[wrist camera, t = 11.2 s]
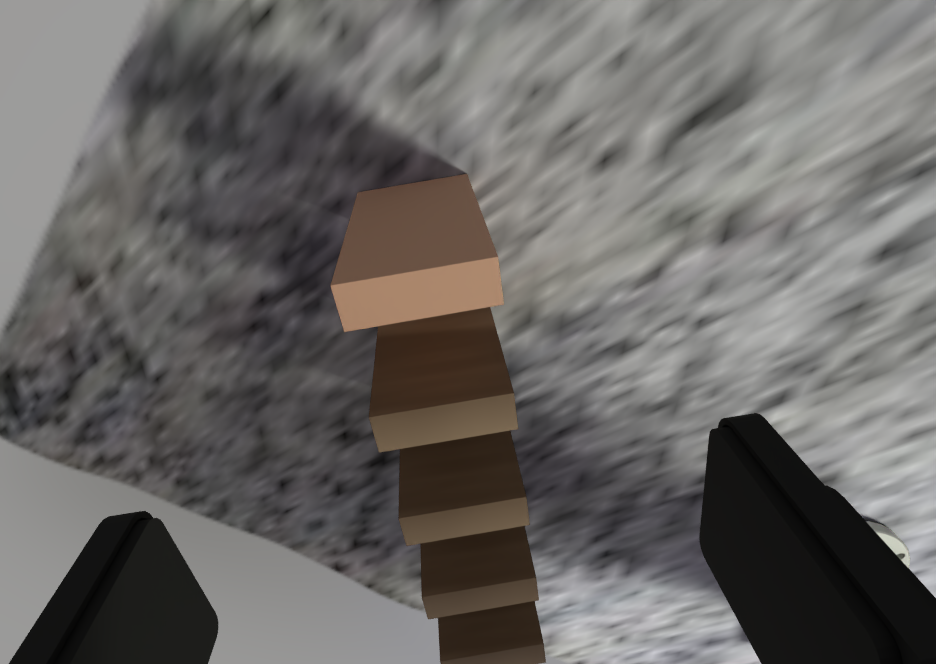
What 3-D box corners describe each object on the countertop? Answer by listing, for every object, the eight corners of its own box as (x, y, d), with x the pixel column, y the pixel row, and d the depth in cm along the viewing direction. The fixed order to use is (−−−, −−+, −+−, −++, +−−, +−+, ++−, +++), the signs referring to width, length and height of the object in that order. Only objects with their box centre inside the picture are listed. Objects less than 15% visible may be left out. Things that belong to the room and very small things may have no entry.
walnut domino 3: (504, 448, 33) (538, 600, 25) (423, 462, 33) (428, 619, 24) (502, 428, 32) (536, 577, 24) (418, 442, 32) (421, 597, 24)
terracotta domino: (471, 207, 26) (503, 304, 17) (366, 225, 26) (344, 332, 17) (466, 173, 25) (497, 257, 16) (357, 192, 25) (330, 285, 16)
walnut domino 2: (495, 381, 31) (529, 524, 22) (407, 396, 31) (406, 546, 22) (492, 358, 30) (526, 496, 21) (401, 373, 30) (398, 518, 21)
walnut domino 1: (484, 302, 28) (518, 429, 20) (388, 318, 28) (379, 452, 19) (480, 274, 27) (513, 393, 19) (381, 291, 27) (368, 417, 19)
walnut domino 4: (512, 506, 36) (545, 662, 27) (436, 519, 36) (445, 679, 27) (510, 488, 35) (543, 643, 26) (432, 502, 35) (440, 661, 26)
